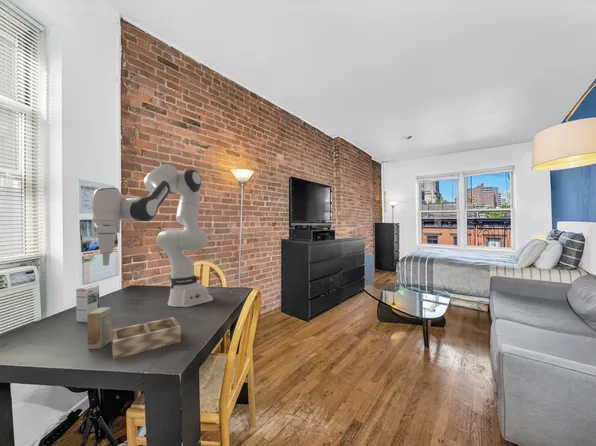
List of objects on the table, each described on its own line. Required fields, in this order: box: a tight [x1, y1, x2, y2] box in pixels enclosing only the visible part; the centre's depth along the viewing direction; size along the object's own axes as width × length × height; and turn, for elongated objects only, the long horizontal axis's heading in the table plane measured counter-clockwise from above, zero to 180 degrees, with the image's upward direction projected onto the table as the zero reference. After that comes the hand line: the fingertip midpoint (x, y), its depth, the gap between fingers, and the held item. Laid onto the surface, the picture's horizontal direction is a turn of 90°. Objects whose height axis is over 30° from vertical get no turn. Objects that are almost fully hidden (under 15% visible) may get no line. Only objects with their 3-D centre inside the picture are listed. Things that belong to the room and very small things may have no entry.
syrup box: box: [75, 284, 100, 323], centre depth 113 cm, size 6×6×14 cm
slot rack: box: [111, 316, 182, 360], centre depth 90 cm, size 20×11×6 cm, turn 128°
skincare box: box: [86, 306, 113, 350], centre depth 90 cm, size 6×4×12 cm
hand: (105, 264), depth 100 cm, fingers open, 8 cm apart
